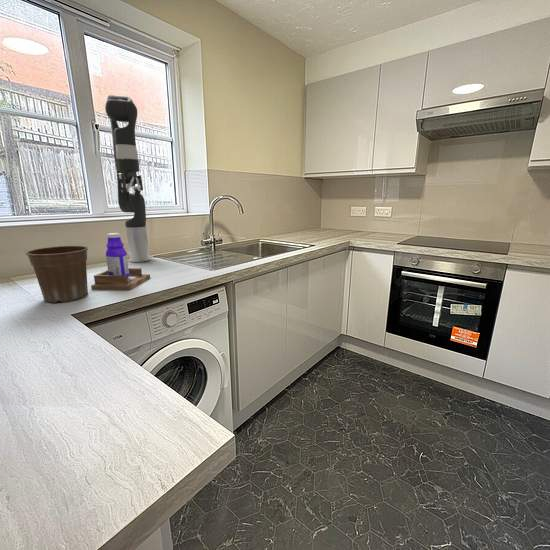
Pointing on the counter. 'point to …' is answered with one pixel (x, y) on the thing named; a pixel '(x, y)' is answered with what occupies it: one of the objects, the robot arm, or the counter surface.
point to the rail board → (119, 280)
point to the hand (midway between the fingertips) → (132, 201)
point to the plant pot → (60, 272)
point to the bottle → (116, 256)
